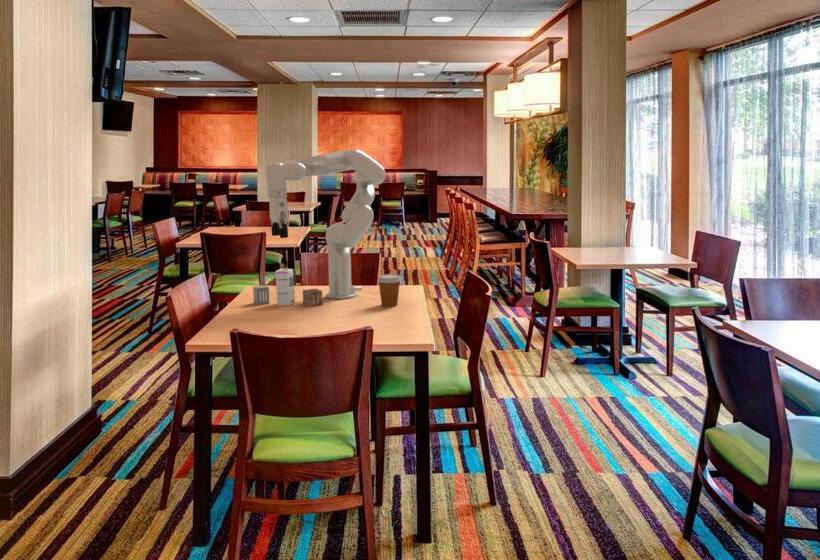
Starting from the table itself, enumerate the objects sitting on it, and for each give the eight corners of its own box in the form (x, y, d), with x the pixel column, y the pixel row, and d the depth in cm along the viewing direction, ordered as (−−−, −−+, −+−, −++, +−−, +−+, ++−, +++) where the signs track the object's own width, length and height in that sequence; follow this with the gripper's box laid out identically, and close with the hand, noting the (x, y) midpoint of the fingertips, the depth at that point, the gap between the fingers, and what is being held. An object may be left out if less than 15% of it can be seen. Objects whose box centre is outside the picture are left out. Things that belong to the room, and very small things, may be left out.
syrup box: (290, 305, 294) (288, 270, 292) (276, 305, 296) (275, 270, 293) (295, 303, 300) (293, 268, 297) (281, 302, 301) (280, 268, 299)
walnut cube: (316, 302, 300) (316, 288, 299) (322, 305, 295) (322, 291, 294) (303, 304, 297) (302, 290, 296) (309, 307, 292) (308, 292, 291)
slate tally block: (265, 301, 303) (264, 285, 302) (269, 304, 299) (268, 287, 297) (253, 303, 301) (253, 286, 300) (257, 305, 296) (257, 288, 295)
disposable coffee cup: (398, 307, 288) (398, 278, 286) (375, 307, 290) (374, 277, 288) (403, 303, 297) (403, 274, 295) (380, 302, 299) (380, 273, 297)
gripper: (293, 194, 284) (296, 237, 287) (278, 192, 299) (281, 234, 302) (275, 195, 280) (278, 239, 283) (261, 193, 295) (264, 235, 298)
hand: (279, 236), depth 293 cm, fingers open, 9 cm apart
